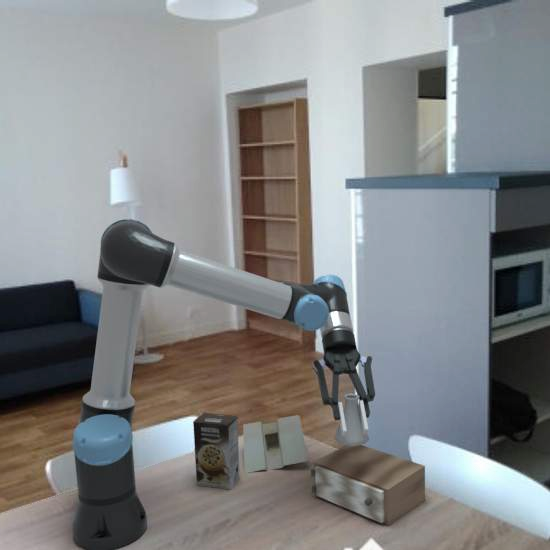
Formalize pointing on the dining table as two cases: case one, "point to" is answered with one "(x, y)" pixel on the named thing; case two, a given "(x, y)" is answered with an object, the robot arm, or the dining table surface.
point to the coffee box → (216, 450)
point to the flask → (351, 423)
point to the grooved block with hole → (273, 444)
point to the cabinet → (369, 482)
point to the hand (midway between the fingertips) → (355, 432)
